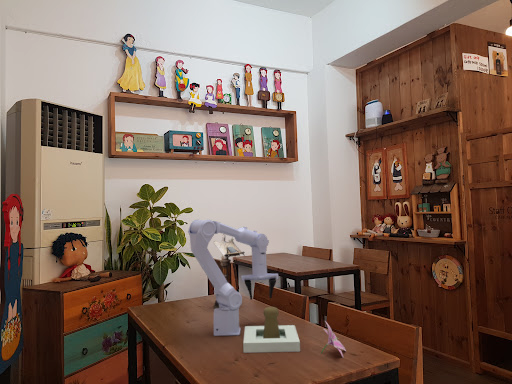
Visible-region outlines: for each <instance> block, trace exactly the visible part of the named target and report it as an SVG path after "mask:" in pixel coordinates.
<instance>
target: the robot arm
mask: <svg viewBox="0 0 512 384" xmlns="http://www.w3.org/2000/svg"><path fill="white" fill-rule="evenodd" d="M257 232H258V231H257V230H251V229H248V227H247V226H242V227H239V228H235V227H233V226H230V225H228V224H225V223H222V222H220V221H215V220H212V219H195V220H193V221H192V222H191V223H190V225H189V228H188V230H187V233H188V235H189V241H190V242H189V244H190V251H191V254H192V255H193V256H194V258H195V259H196V261H197V262H198V264H199V266H200V267H201V269H202V270H203V272H204V274H205V276H207V279H208V280H209V281H210V283H211V285H212V287H213V288H214V290H213V293H214V295H215V301H217V302H218V303H219V308H216V309H213V326H212V327H213V336H214V337H215V336H217V337H218V336H219V337H220V336H240V335H241V327H240V313H239V312H240V311H239V310H240V307H241V305H242V302H243V297H242V294H241V293H240V292H239V291H237V290H236V289H235V287H234V286H232V285H231V284H230V283H229V281H228V282H227V280H226V279H225V277H224V275H223V271H222V270H221V269H220V267H219V265H218V263H217V262H216V260H215V259H214V257H213V256H212V254H211V252H210V251H209V249H208V247H209V244H210V242H211V241H212V239H213V238H214V235H217V234H222V235H223V234H224V235H225V236H230V237H231V238H232V237H233V238H234V240H235V241H236V242H237V243H240V244H244V245H246V246H249V247H250V248H251V266H252V274H246V275H243V274H242V275H241V282H244V284H245V286H246V288H247V290H248V294H249V299H250V301H251V300H253V293H252V281H264V280H265V281H266V280H268V287H269V288H268V290H269V291H268V292H269V293H268V294H269V297H268V298H269V299H272V297H273V293H274V292H273V291H274V288H275V286H276V283H277V280H279V273H268V268H267V267H268V266H267V264H268V263H267V250H268V245H269V243H270V240H269V239H268V237H267V236H266V234H264V233H257Z"/></svg>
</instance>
